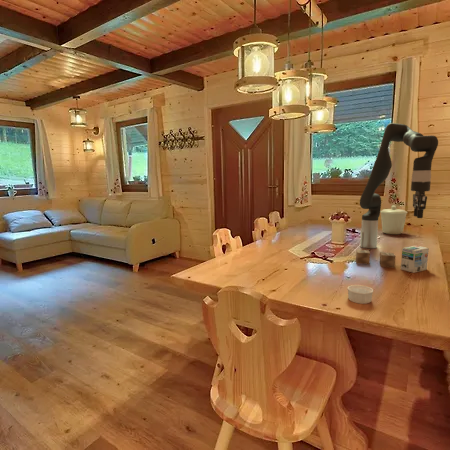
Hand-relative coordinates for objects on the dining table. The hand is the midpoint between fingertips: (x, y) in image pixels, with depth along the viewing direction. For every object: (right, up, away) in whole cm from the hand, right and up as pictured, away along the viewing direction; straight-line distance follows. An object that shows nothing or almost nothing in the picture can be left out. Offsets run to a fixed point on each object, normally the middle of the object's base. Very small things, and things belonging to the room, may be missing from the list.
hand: (418, 217), depth 146 cm
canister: (+36, -10, +90) cm, 98 cm away
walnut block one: (-9, -24, +11) cm, 28 cm away
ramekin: (-40, -32, -29) cm, 59 cm away
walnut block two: (-18, -23, +18) cm, 34 cm away
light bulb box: (+1, -25, +4) cm, 26 cm away
